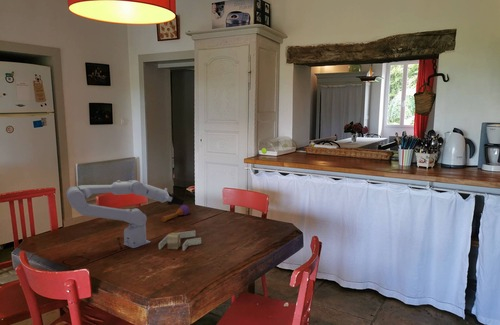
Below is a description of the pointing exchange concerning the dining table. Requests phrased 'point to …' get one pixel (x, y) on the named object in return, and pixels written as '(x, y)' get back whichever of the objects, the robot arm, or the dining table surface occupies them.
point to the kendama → (181, 211)
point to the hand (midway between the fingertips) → (179, 201)
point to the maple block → (173, 240)
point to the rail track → (187, 242)
